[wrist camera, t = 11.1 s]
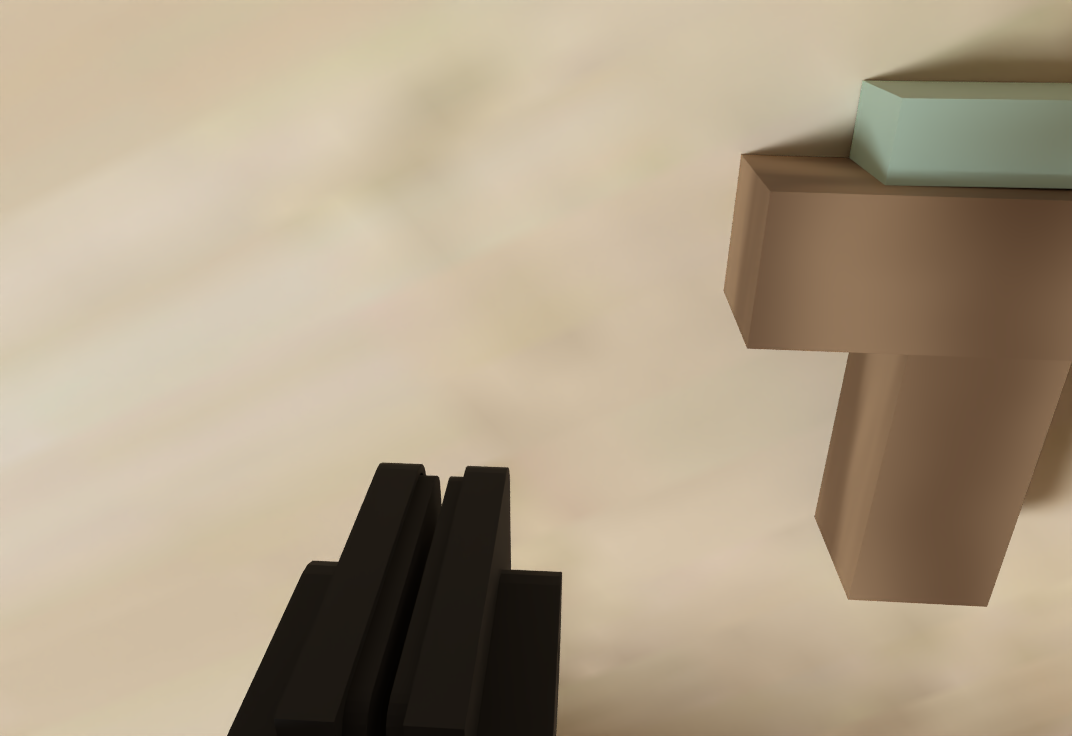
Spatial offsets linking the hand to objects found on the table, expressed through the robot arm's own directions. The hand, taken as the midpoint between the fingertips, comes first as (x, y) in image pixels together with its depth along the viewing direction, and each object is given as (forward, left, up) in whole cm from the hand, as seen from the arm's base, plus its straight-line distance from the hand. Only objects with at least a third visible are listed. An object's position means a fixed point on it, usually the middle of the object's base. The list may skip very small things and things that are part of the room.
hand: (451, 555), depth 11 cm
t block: (+12, -4, -14) cm, 19 cm away
